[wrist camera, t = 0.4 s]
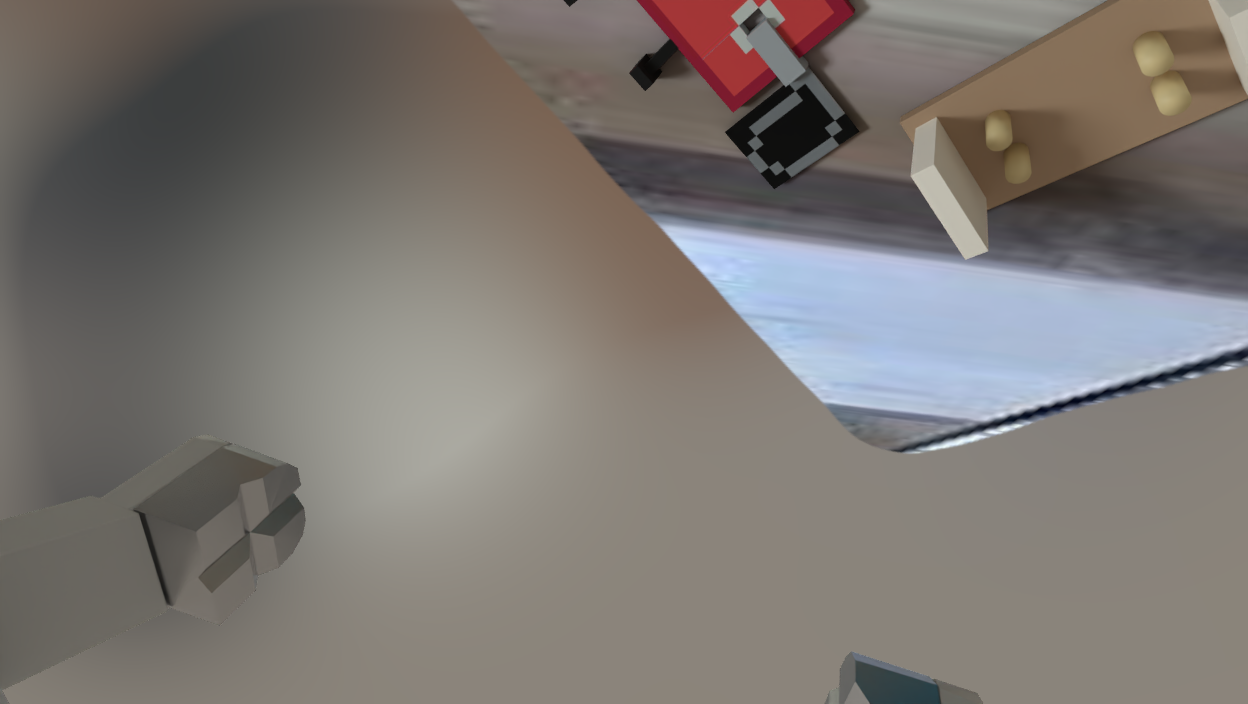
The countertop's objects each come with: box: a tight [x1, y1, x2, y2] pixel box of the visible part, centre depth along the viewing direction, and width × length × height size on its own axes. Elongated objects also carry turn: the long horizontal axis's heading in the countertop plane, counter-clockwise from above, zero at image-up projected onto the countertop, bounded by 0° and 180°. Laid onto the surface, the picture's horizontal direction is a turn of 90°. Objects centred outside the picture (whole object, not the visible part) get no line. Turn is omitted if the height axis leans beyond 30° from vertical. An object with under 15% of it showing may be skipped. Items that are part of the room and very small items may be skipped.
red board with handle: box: [564, 0, 859, 189], centre depth 50 cm, size 30×3×15 cm
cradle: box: [900, 0, 1248, 260], centre depth 44 cm, size 20×10×8 cm, turn 133°
